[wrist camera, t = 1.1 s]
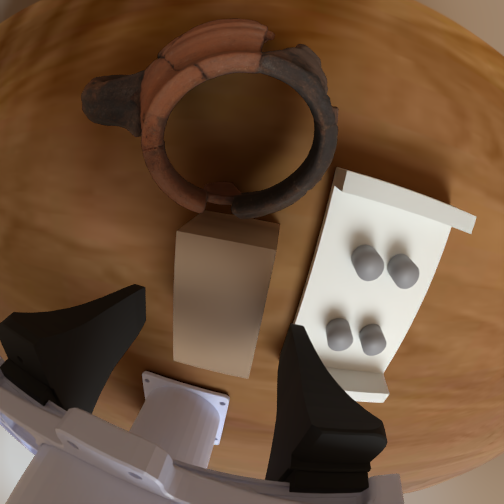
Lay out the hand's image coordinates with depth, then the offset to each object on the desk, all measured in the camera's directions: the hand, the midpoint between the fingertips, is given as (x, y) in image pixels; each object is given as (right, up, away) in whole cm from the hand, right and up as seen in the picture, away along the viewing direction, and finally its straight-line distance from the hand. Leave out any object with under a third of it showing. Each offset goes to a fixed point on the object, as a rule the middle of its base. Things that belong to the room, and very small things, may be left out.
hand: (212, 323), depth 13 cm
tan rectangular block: (+1, +2, +5) cm, 5 cm away
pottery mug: (0, +11, +1) cm, 12 cm away
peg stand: (+9, +1, +4) cm, 10 cm away
